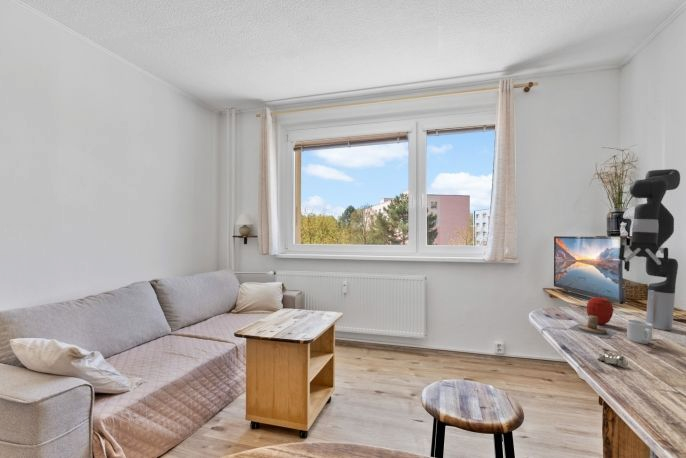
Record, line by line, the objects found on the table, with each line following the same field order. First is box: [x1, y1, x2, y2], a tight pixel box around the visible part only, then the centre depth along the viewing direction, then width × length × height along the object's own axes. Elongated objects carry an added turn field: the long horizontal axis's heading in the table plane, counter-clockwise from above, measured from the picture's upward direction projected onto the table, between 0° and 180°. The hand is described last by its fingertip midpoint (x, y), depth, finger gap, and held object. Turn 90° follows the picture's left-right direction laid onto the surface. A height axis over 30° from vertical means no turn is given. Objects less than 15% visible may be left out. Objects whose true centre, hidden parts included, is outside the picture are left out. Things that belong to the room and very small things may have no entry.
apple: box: [586, 294, 615, 326], centre depth 159 cm, size 10×10×14 cm
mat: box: [567, 323, 618, 340], centre depth 146 cm, size 15×14×1 cm
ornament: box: [597, 349, 629, 369], centre depth 111 cm, size 8×7×4 cm
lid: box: [578, 316, 608, 334], centre depth 146 cm, size 10×10×6 cm
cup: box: [626, 319, 654, 345], centre depth 134 cm, size 11×8×8 cm
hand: (641, 272), depth 131 cm, fingers open, 8 cm apart
